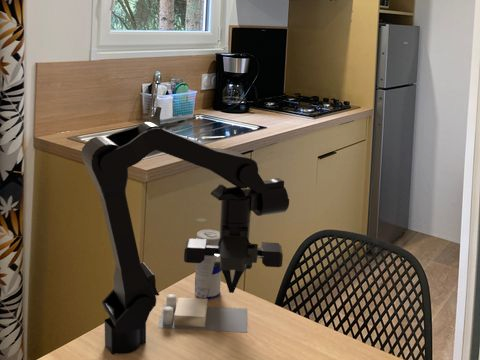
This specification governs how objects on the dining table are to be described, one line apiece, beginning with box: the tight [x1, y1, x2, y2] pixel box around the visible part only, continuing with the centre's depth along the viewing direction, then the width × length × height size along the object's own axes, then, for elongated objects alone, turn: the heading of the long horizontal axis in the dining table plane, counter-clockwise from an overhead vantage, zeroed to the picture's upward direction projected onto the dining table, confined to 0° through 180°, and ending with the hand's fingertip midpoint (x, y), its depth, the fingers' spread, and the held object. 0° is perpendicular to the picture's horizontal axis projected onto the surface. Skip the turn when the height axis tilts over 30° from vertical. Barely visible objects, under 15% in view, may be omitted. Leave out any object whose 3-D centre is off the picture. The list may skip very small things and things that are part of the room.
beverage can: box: [194, 229, 222, 300], centre depth 117 cm, size 6×6×15 cm
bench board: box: [157, 293, 248, 333], centre depth 108 cm, size 17×9×4 cm, turn 90°
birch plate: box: [174, 297, 208, 327], centre depth 108 cm, size 6×7×2 cm
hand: (231, 291), depth 107 cm, fingers closed
